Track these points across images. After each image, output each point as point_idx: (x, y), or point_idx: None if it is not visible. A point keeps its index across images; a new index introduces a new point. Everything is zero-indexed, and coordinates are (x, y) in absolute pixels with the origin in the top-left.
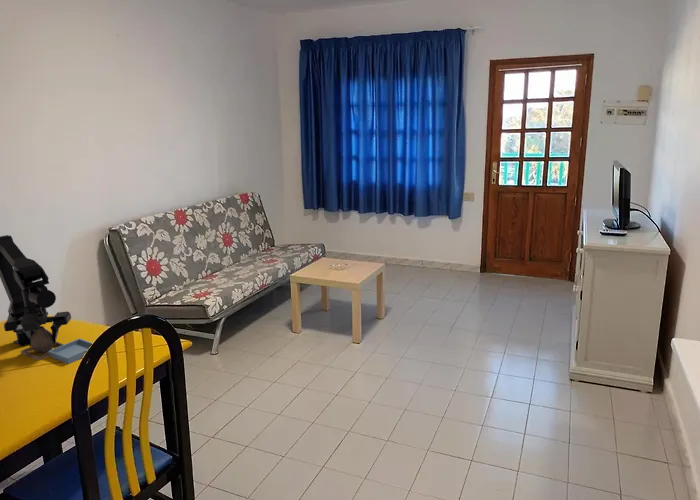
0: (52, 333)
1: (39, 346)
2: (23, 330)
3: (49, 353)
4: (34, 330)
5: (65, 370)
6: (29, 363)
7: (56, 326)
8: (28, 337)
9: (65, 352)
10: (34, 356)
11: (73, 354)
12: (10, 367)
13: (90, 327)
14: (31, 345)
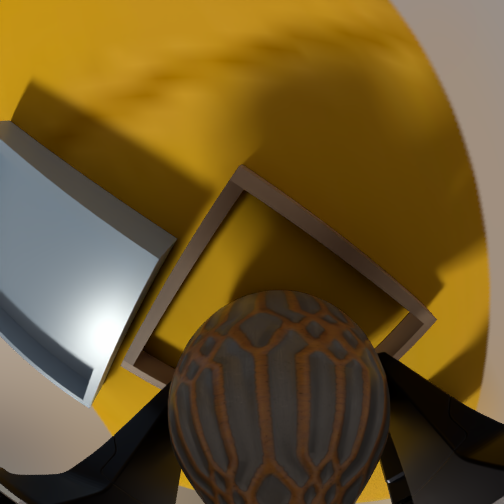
0: (123, 457)
1: (259, 315)
2: (499, 485)
3: (151, 240)
4: (385, 479)
5: (9, 55)
6: (295, 117)
7: (4, 486)
8: (415, 422)
9: (73, 271)
10: (282, 195)
11: (18, 232)
12: (416, 81)
13: (182, 480)
14: (365, 339)
